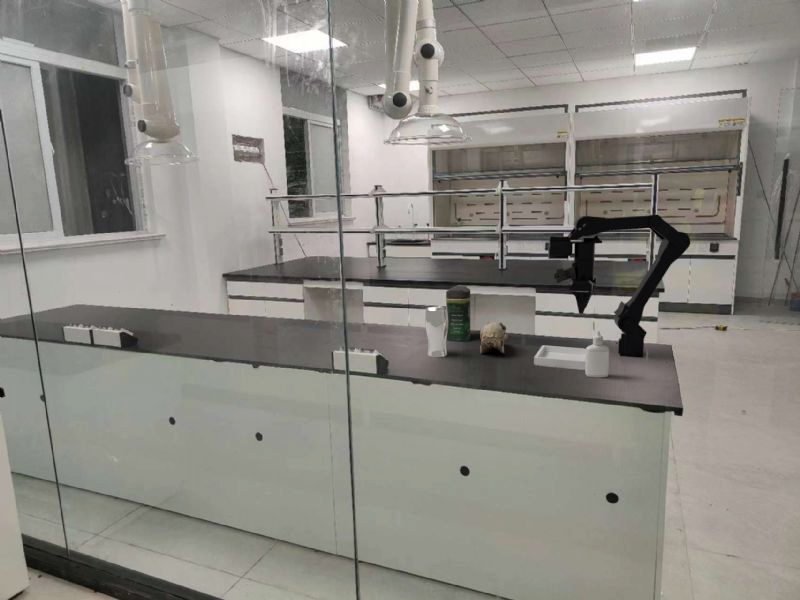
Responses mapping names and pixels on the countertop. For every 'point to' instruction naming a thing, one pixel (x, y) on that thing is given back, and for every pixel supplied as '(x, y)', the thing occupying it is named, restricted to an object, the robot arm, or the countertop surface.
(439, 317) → the beer glass
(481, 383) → the countertop surface
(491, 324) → the animal skull replica
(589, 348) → the eye dropper bottle
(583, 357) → the tray
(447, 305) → the coffee jar
